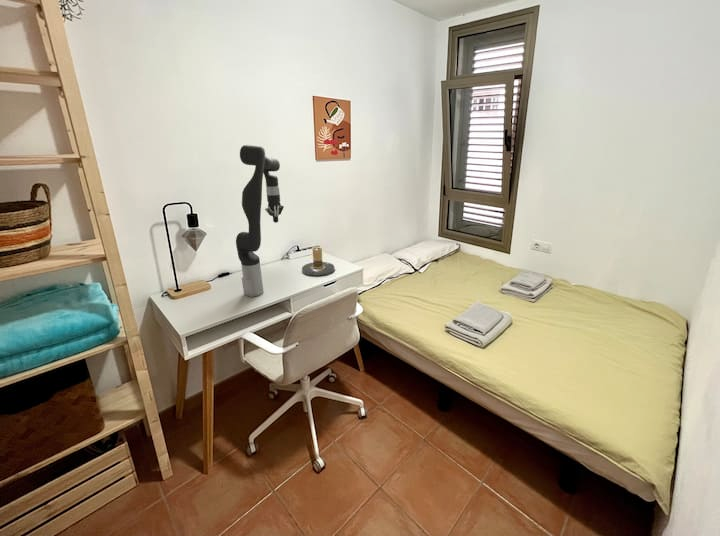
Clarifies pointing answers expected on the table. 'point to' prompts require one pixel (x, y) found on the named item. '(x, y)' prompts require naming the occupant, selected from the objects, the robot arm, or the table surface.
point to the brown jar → (317, 258)
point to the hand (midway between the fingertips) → (276, 222)
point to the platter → (326, 270)
